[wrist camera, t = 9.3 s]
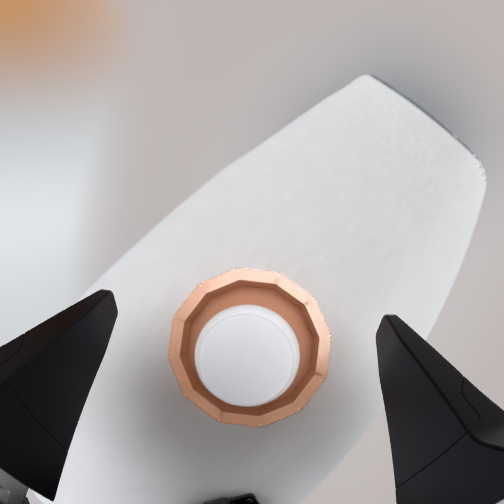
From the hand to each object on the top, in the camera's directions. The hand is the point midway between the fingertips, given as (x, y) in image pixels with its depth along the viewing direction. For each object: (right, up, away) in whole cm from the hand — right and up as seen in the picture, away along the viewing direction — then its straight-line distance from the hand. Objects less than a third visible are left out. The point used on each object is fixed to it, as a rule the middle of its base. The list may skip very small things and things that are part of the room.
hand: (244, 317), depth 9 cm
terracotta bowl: (0, -5, +13) cm, 14 cm away
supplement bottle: (0, -5, +12) cm, 13 cm away
